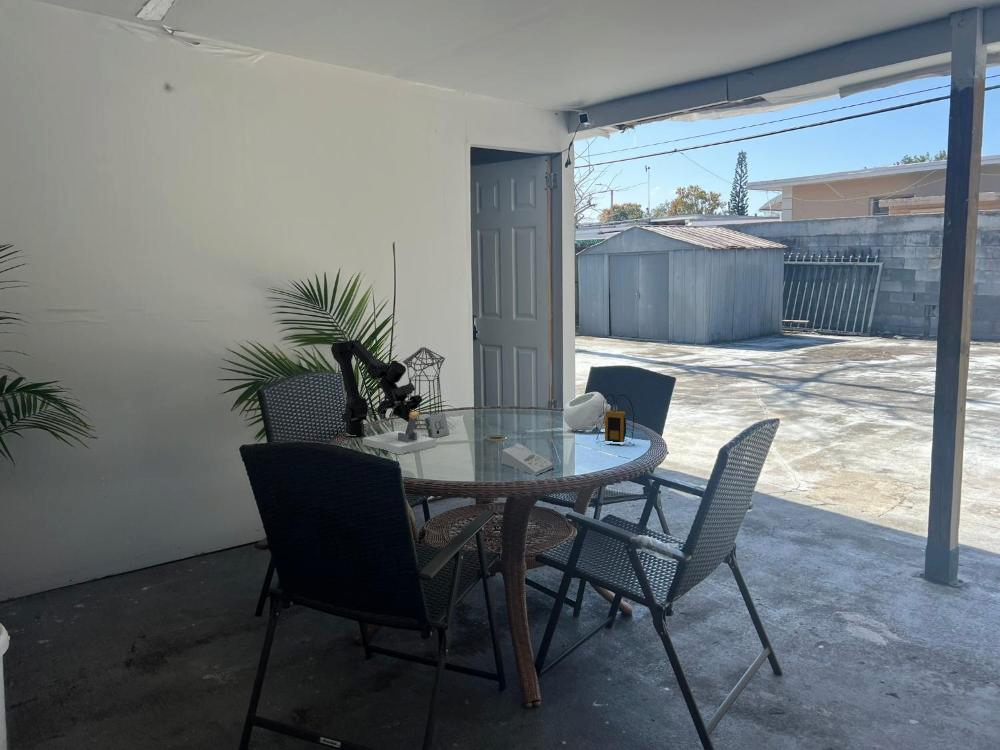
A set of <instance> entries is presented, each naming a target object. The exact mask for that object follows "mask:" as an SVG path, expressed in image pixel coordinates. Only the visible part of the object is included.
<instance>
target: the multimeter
mask: <svg viewBox="0 0 1000 750" xmlns="http://www.w3.org/2000/svg"><path fill="white" fill-rule="evenodd" d="M609 395H611V397H612V396H613V397H612V398H613V408H612V410H611V409H610V410H608V411H606V412H605V415H604V420H605V433H604V442H605V441H613V442H624V441H625V442H626V434H627V419H626V412H625V411H618V402H616V403H615V396H614V395H613V394H612V393H608V394H607V395H606V396H605V397H604V398H605V399H606V398H607V397H608V396H609ZM621 396H623V397H626V398H627V399H628V401H629V403H630V405H631V409H632V416H633V419H632V420H633V423H632V429H634V427H635V412H634V408H633V404H632V402H631V400H630V398H629V397H628V396H627V395H624V394H620V395H618V396H617V398H616V400H618V399H619V397H621ZM605 399H604V400H605ZM603 412H604V401H603ZM603 423H604V421H603ZM602 425H603V424H602ZM601 428H602V426H601ZM600 430H601V429H600ZM598 431H599V430H598ZM600 433H601V432H600V431H599V432H598V434H597V437H596V440H598V439H599V435H600ZM631 435H632V436H631V439H633V438H634V437H633V436H634V431H632V433H631ZM596 440H595V441H596Z"/></svg>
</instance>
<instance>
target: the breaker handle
mask: <svg viewBox="0 0 1000 750" xmlns="http://www.w3.org/2000/svg"><path fill="white" fill-rule="evenodd" d="M409 417H410V418H409V422H407V426H406V429H405V432H406V433H405V434H408V435H409V439H411V438H412V435H413V432H415V429H414V428H415V424H417V422H418V421H417V419H418V417H419V418H420V414H419V412H417V411H415V412H413V411H411V413H410V414H409ZM416 421H417V422H416Z"/></svg>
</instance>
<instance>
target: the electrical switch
mask: <svg viewBox="0 0 1000 750" xmlns="http://www.w3.org/2000/svg"><path fill="white" fill-rule="evenodd" d="M424 420H425V421H424V422H425V424H426V425H425V426H426V427H425V428H427V429H426V431H427V435H428V436H427V437H430V438H434V439H437V438H441V437H443V436H448V435H449V434H450V430H449V426H448V421H447V418H446V413H445V412H442V413H441V412H439V414H434V415H433V414H431V415H430V414H429V415H428V416H427V417H425V418H424ZM436 437H437V438H436Z"/></svg>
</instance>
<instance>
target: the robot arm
mask: <svg viewBox="0 0 1000 750" xmlns="http://www.w3.org/2000/svg"><path fill="white" fill-rule="evenodd" d="M330 351H331V354H332V357H333V359H334V361H336V362H337V364H338V366H339V367H340V372H341V376H342V381H343V384H344V388H345V389H344V390H345V393H346V397H347V399H346V403H345V410H344V412H343V414H342V415H341V419H342V422H344V423H345V429H346V431H345V432H346V433H348V434H350V435H356V436H360V437H362V436H364V435H366V432H365V424H364V421H366V420H367V418H368V413H369V406H368V402H367V398H366V397H362V396H361V394H360V391H359V388H358V382H357V378H356V375H355V371H354V367H353V361H352V360H353V357H354V355H355V357H356V358H357V359H358V360H359V361H360V362H361V363H363V365H364V366H365V367H366V372H367V374H368V375H369V377H370V378H371V379H372V380H379V381H377V385H376V389H378V390H379V389H381V390H382V392H383V394H384V395H385V396H384V399H385V400H381V402H380V403H379V405H378V407H377V409H376V411H377V413H378V415H379V416H382V415H383V416H384V415H386V413H387V410H390V409H392V412H391V414H392V415H393V416H394V415H395V416H396V417H398V418H400V419H402V420H403V421H406V422H407V423H408V422H409V418H410V417H409V414H410V410H411V411H412V410H414V409H415V410H416V409H417V408H419V404H420V405H421V403H422V401H423V398H422V396H421V394H420V395H419V394H417V395H415V396H414V395H411V397H410V396H409V400H408V394H410V393H411V394H413V393H414V391H415V385H414V384H413V383H412V382H411V383H409V382H408V383H407V384H404V385H401V386H398V385H397V383H399V382H400V381H401V379H402V378H403V376H404V375H405V374H406V372H407V367H405V366H406V365H403V364H402V363H400V362H398V360H391V362H390V364H389V365H388V364H387V362H384V361H383V360H381V359H379V358H378V359H377V357H375V356H374V355H373V354H372V353H371V352H370V351H369V350H368V349H367V348H366V346H364V345H363V344H362V341H361V340H359V339H350V340H346V341H336V342H333V344H332V345H331V348H330ZM406 399H407V400H406ZM346 433H345V434H346ZM363 434H364V435H363ZM361 435H362V436H361Z"/></svg>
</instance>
